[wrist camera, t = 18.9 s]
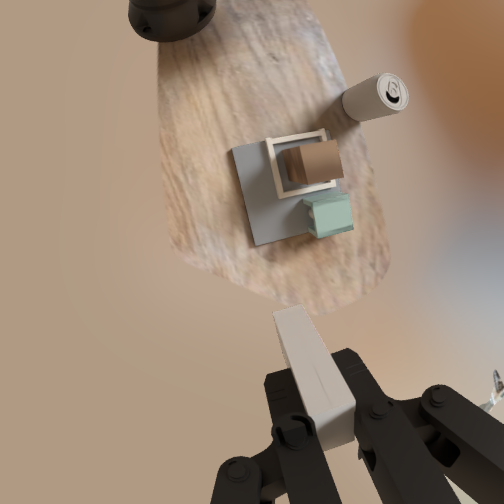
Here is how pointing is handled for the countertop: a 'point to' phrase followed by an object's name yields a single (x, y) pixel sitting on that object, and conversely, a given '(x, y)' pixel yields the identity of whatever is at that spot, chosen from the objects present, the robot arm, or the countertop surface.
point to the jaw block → (313, 162)
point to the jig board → (277, 187)
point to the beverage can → (375, 97)
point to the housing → (330, 213)
